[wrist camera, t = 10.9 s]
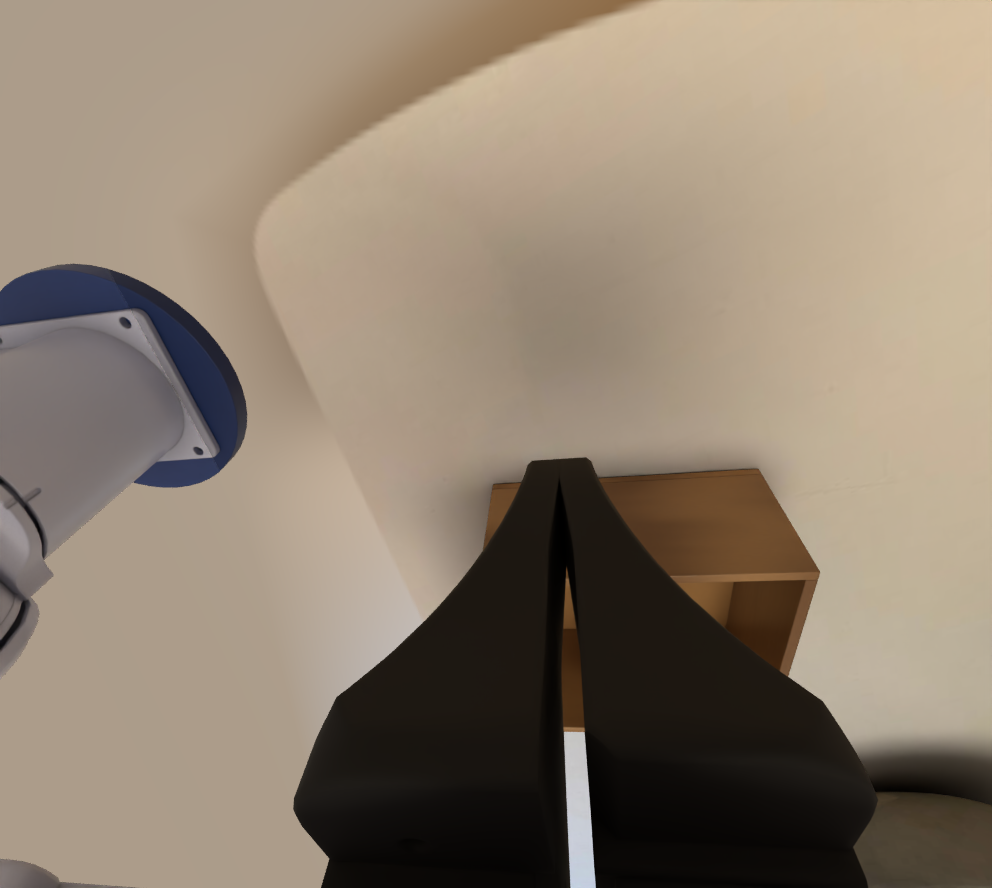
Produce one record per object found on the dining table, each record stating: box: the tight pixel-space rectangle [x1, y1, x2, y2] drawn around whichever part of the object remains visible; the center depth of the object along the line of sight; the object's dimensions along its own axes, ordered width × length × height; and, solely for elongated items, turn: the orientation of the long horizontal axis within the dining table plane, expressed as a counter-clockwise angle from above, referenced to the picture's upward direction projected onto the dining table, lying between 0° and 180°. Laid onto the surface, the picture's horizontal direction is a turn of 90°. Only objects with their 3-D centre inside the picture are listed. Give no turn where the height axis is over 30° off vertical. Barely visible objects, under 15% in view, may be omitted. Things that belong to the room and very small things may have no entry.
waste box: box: [483, 469, 820, 732], centre depth 23 cm, size 12×11×6 cm
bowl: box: [853, 792, 992, 888], centre depth 34 cm, size 21×21×8 cm
